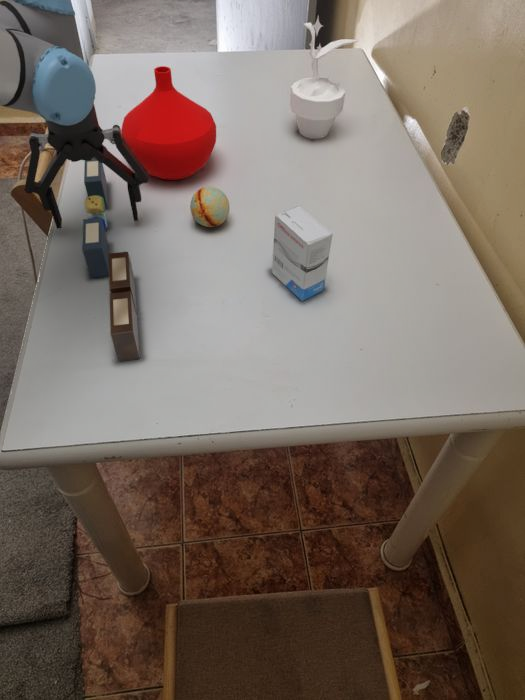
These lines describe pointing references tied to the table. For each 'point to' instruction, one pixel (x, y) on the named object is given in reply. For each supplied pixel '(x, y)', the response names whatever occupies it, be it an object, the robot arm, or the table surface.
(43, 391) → the table surface
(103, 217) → the dice
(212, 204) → the ball
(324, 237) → the ink box
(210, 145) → the vase
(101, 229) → the blue block
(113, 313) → the brown paneled block
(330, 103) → the potted plant
